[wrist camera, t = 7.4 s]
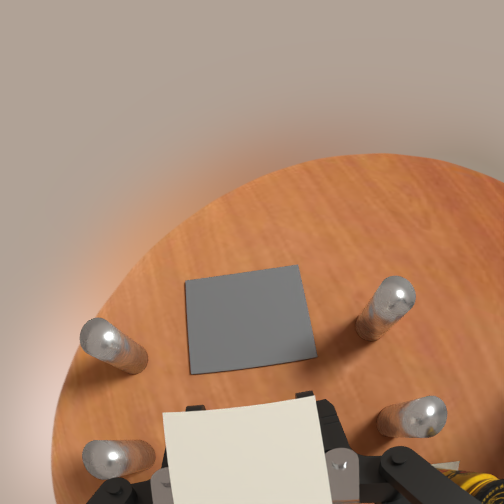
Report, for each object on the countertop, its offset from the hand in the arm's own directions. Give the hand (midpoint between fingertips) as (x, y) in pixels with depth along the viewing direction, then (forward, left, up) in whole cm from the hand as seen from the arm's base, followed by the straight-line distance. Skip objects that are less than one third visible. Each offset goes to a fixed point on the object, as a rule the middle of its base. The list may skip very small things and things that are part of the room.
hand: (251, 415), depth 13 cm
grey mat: (0, -10, -16) cm, 19 cm away
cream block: (0, +2, -4) cm, 5 cm away
